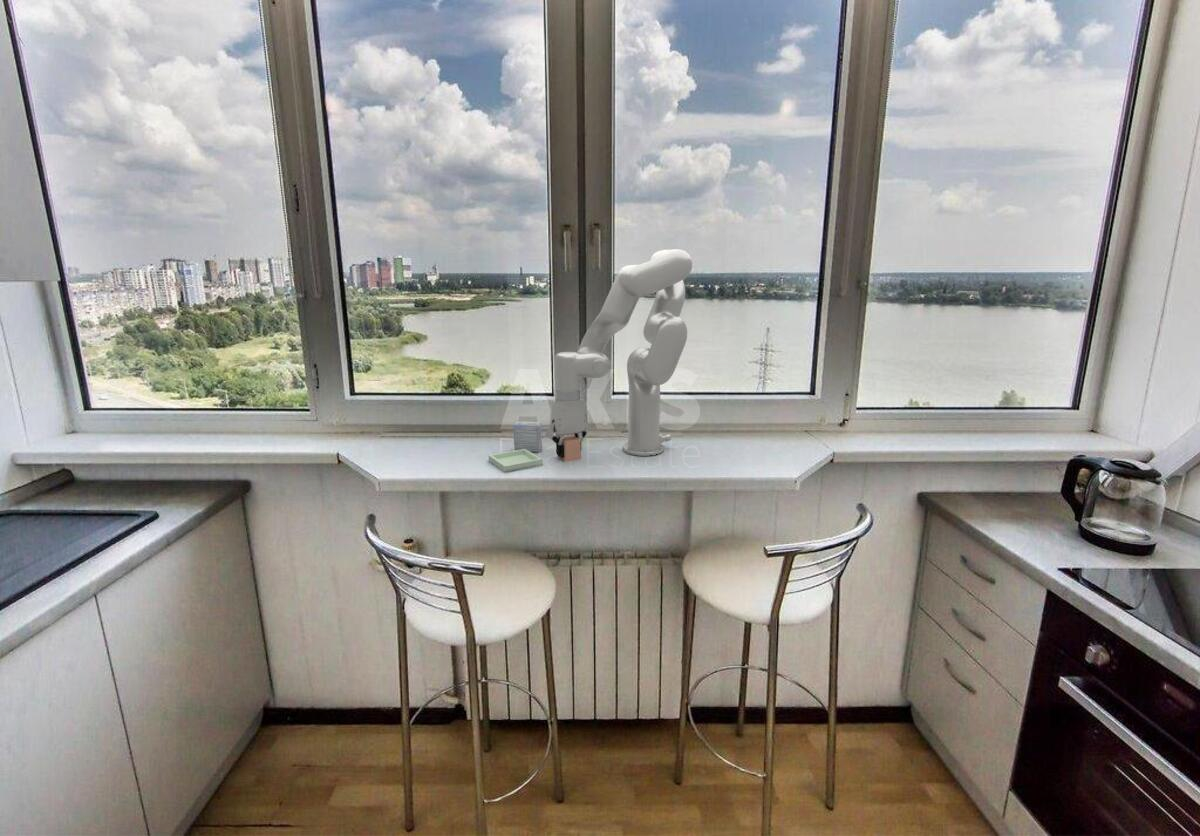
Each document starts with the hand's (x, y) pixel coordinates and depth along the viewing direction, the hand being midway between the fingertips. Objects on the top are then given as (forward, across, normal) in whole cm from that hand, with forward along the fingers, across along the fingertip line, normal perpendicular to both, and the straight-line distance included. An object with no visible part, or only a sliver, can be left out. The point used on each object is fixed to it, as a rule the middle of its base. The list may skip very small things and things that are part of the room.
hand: (569, 454), depth 167 cm
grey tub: (+1, -6, -8) cm, 10 cm away
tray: (+1, +16, -4) cm, 16 cm away
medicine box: (+1, +7, -13) cm, 15 cm away
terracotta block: (+1, 0, 0) cm, 1 cm away
